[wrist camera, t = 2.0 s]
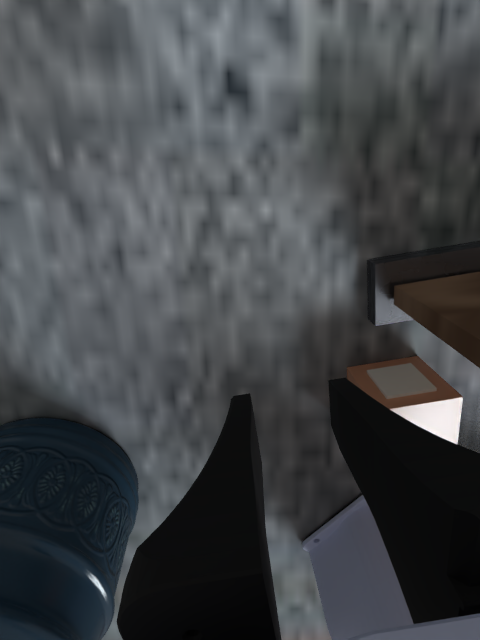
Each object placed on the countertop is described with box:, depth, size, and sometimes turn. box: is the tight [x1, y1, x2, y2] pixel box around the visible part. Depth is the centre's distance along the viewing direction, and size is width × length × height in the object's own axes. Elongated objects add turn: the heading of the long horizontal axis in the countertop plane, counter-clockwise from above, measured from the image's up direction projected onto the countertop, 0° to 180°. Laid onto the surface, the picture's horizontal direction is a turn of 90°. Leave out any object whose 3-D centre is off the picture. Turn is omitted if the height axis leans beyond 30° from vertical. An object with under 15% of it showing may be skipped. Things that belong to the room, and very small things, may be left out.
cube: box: [347, 356, 463, 444], centre depth 23 cm, size 5×5×5 cm
